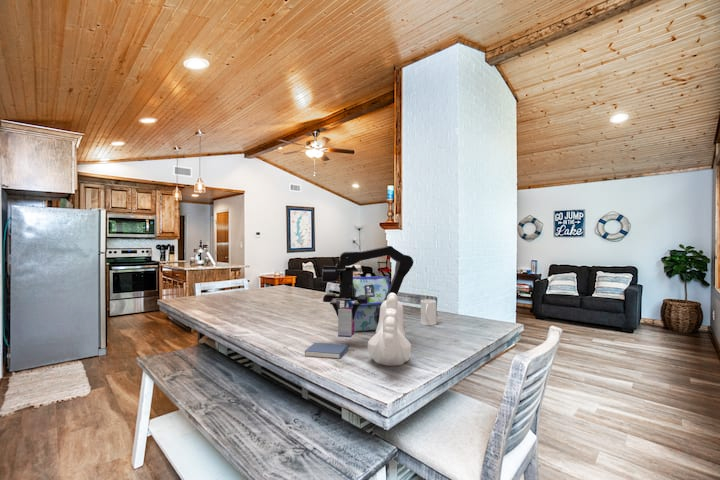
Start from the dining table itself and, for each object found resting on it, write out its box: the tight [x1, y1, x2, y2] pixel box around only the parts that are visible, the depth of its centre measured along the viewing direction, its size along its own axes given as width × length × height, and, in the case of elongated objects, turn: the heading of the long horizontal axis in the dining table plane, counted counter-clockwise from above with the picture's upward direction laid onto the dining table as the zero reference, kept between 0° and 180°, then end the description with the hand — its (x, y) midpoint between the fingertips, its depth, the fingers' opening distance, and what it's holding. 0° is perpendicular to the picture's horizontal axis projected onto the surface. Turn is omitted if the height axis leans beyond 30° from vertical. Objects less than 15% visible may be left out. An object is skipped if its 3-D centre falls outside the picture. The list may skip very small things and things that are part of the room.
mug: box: [419, 299, 437, 326], centre depth 182 cm, size 12×8×12 cm
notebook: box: [304, 342, 349, 360], centre depth 136 cm, size 14×11×2 cm
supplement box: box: [337, 306, 355, 338], centre depth 145 cm, size 6×6×12 cm
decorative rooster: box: [367, 293, 412, 367], centre depth 122 cm, size 25×16×25 cm, turn 161°
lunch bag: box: [343, 276, 390, 333], centre depth 173 cm, size 22×17×26 cm
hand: (346, 319), depth 145 cm, fingers closed on supplement box, 6 cm apart
